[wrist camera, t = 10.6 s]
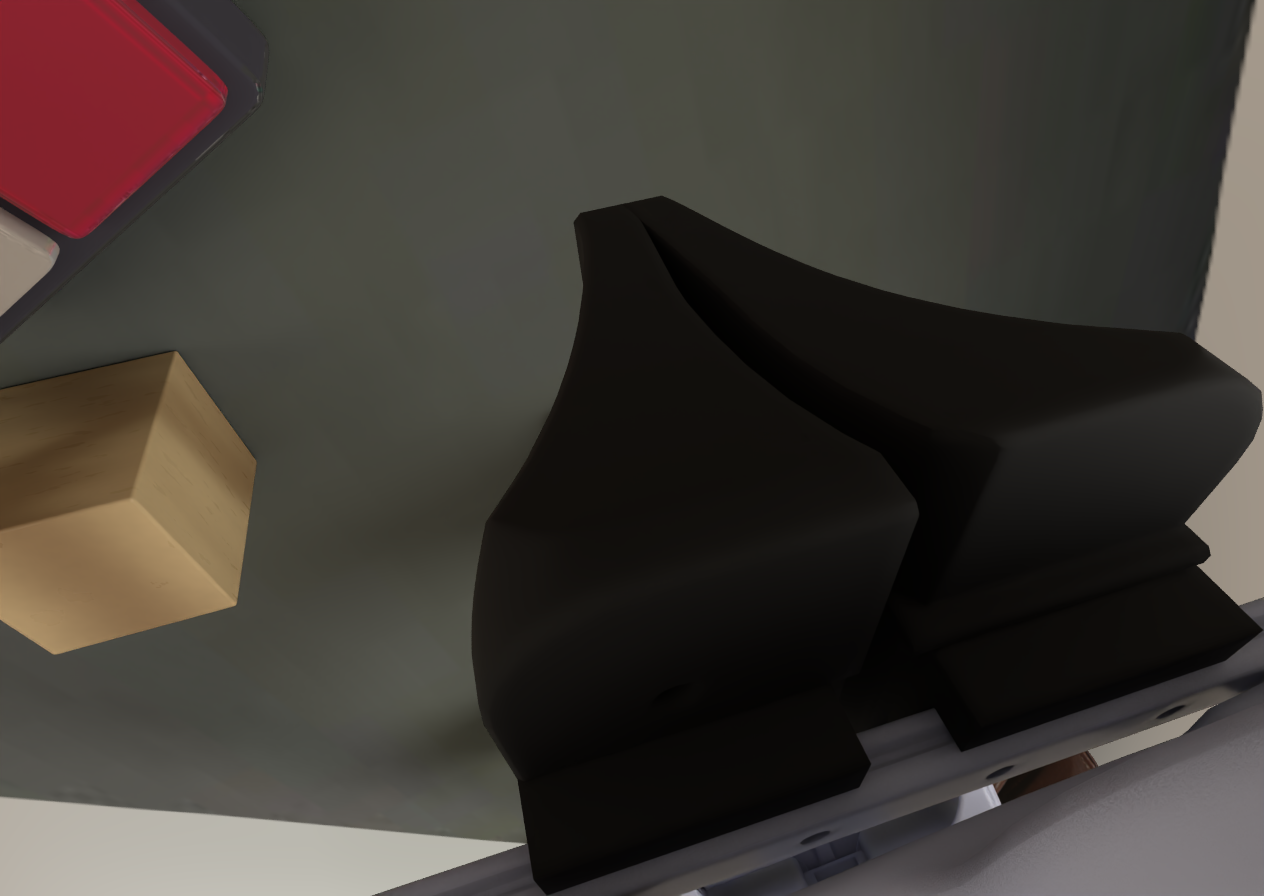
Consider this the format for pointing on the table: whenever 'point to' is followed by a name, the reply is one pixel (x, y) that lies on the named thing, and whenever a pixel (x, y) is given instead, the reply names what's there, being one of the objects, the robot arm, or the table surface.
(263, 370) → the table surface
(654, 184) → the table surface
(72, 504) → the birch block
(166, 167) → the calculator
